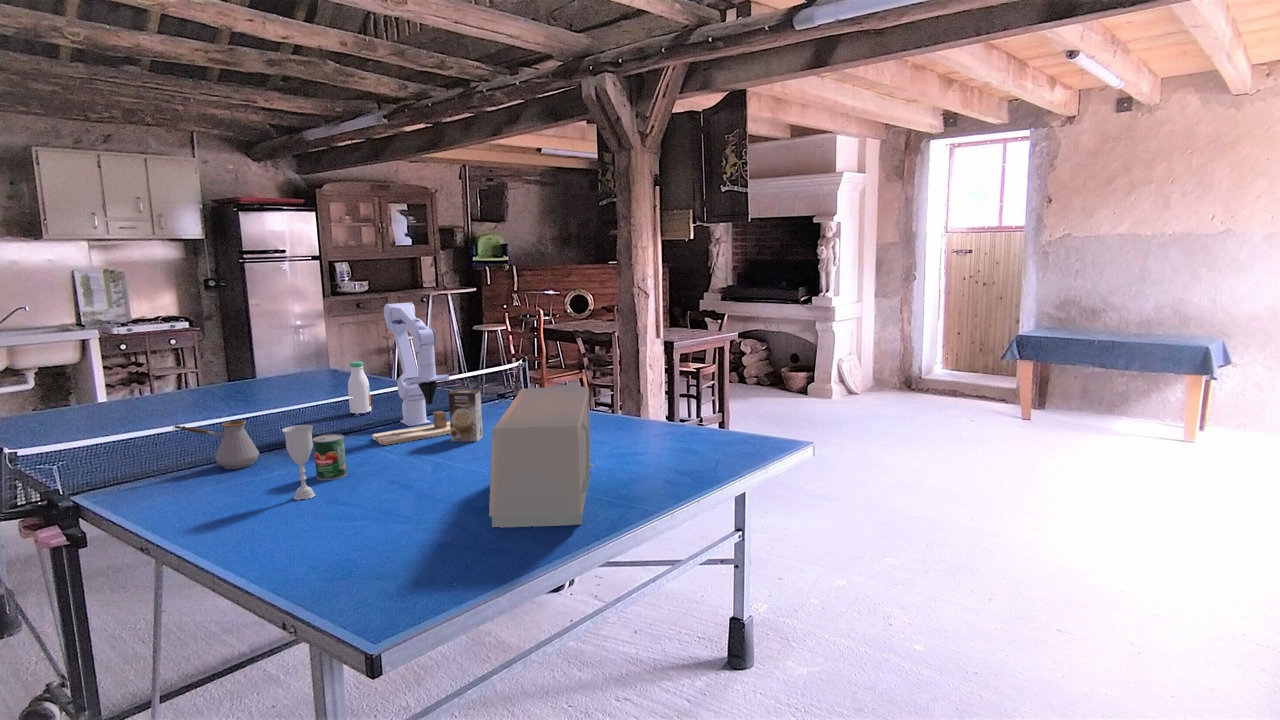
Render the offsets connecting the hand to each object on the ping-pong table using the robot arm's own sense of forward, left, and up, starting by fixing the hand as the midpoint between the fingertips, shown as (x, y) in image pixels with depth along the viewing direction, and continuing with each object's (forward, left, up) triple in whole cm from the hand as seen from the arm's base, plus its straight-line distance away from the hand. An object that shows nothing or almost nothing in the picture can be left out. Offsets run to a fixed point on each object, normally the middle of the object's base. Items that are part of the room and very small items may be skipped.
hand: (429, 403), depth 254 cm
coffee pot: (+2, -64, -10) cm, 65 cm away
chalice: (+45, -50, -10) cm, 68 cm away
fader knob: (+3, +2, -8) cm, 8 cm away
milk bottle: (-45, -11, -10) cm, 47 cm away
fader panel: (+3, -5, -9) cm, 11 cm away
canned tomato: (+31, -40, -10) cm, 52 cm away
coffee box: (+19, +5, -10) cm, 22 cm away
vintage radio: (+86, -2, -10) cm, 86 cm away
